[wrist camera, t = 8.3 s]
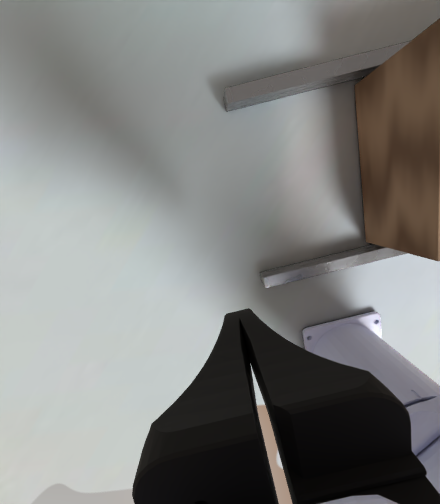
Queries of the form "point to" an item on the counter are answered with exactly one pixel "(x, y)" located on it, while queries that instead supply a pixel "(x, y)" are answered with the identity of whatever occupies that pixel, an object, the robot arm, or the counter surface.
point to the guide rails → (297, 84)
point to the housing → (402, 148)
